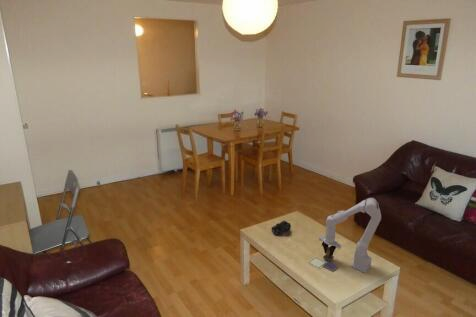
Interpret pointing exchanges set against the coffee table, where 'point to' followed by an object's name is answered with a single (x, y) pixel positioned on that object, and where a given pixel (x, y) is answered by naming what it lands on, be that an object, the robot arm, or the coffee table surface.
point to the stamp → (328, 255)
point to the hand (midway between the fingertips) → (328, 254)
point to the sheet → (316, 262)
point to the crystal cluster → (281, 228)
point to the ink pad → (330, 266)
